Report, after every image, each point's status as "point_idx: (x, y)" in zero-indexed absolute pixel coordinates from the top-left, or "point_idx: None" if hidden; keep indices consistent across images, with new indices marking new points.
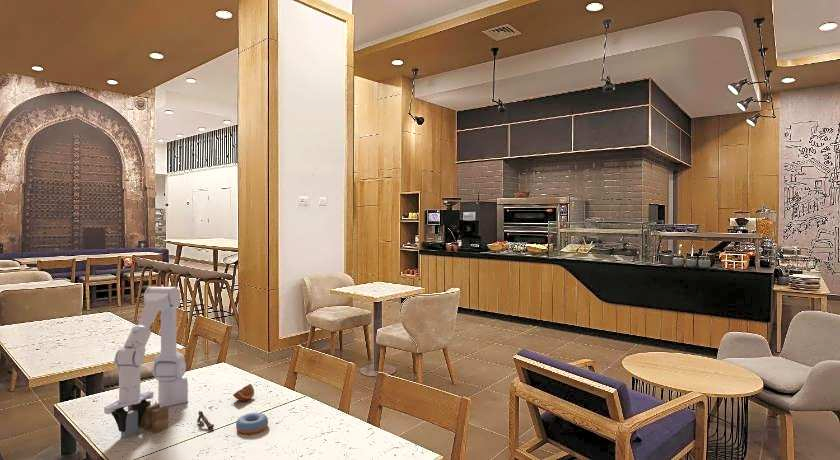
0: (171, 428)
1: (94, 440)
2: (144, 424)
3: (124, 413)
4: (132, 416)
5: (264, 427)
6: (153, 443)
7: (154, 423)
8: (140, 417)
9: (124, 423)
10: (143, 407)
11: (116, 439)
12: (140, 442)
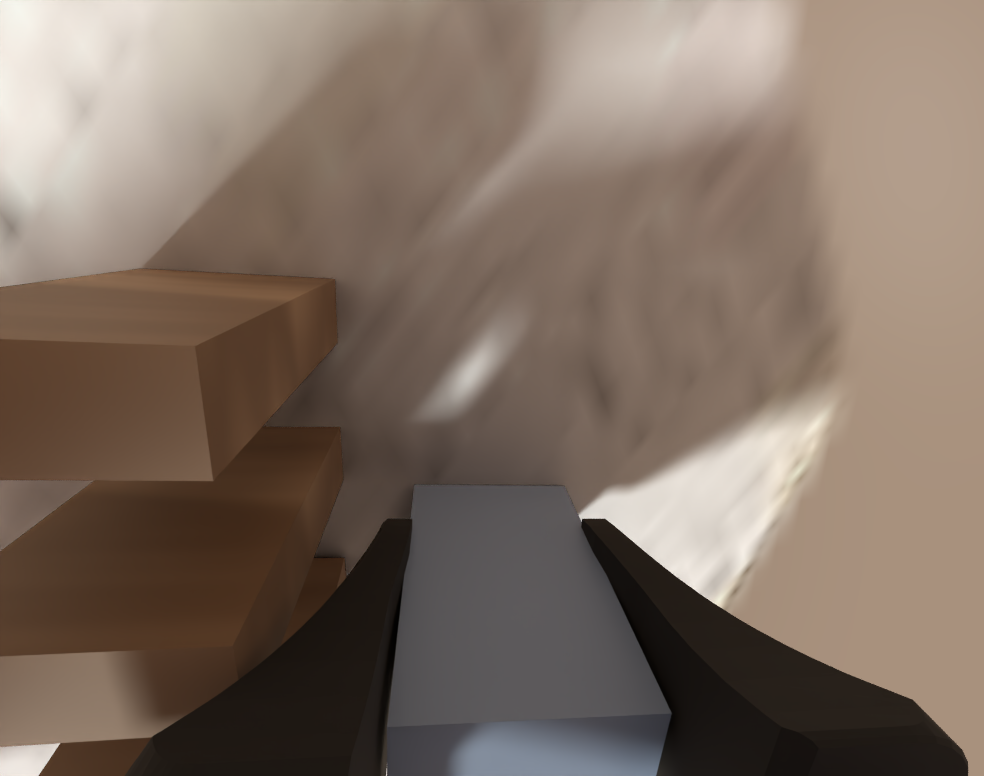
0: (125, 205)
1: None
2: (328, 510)
3: (853, 716)
4: (500, 651)
5: None
6: (543, 42)
7: (302, 327)
8: (385, 578)
9: (654, 578)
10: (316, 715)
11: (614, 518)
12: (581, 237)
